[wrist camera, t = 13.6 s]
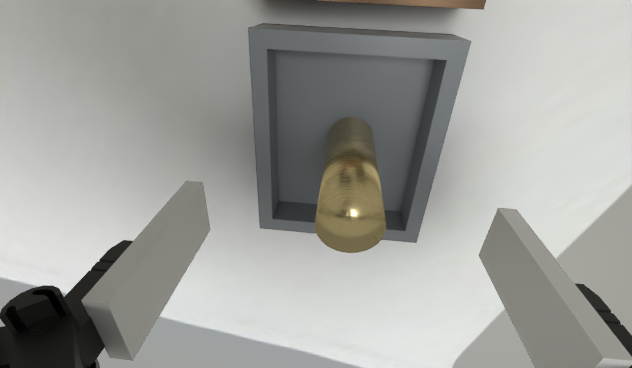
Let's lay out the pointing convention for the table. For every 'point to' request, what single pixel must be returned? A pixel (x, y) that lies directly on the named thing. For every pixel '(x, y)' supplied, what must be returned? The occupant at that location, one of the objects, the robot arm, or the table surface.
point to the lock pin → (350, 189)
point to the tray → (350, 114)
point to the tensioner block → (426, 3)
